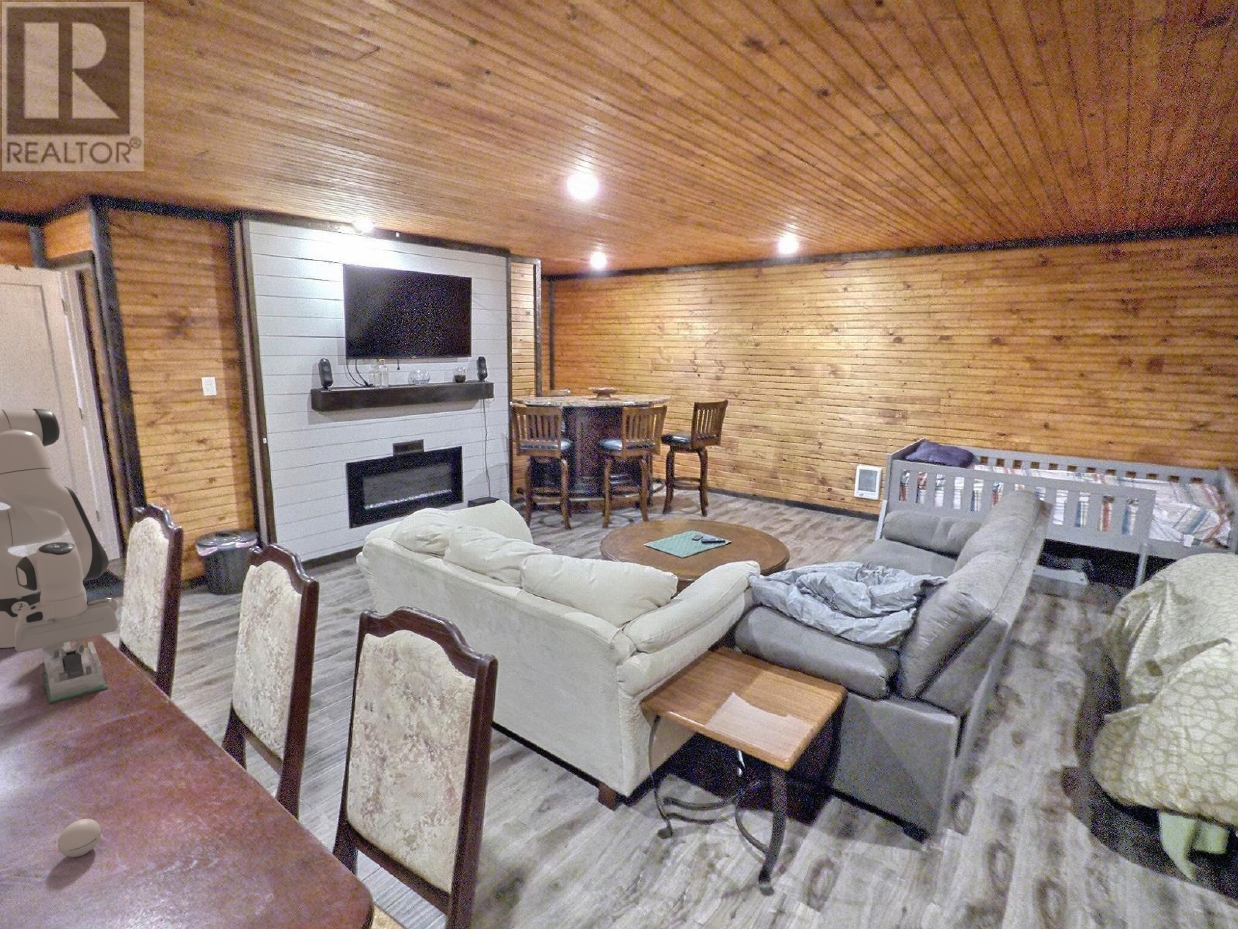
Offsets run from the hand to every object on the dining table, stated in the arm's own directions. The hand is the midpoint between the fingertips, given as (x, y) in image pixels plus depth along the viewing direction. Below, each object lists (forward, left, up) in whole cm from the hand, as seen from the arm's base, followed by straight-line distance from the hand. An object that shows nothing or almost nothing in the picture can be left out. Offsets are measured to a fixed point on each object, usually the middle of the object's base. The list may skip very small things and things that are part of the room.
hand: (71, 656), depth 163 cm
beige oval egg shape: (+77, -4, -6) cm, 77 cm away
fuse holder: (+2, 0, -6) cm, 6 cm away
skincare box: (-16, -2, -6) cm, 17 cm away
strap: (+7, 0, 0) cm, 7 cm away
